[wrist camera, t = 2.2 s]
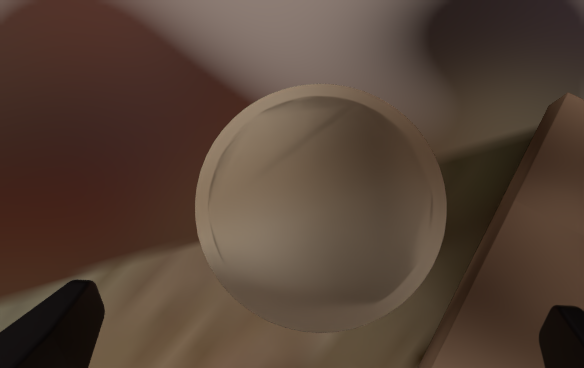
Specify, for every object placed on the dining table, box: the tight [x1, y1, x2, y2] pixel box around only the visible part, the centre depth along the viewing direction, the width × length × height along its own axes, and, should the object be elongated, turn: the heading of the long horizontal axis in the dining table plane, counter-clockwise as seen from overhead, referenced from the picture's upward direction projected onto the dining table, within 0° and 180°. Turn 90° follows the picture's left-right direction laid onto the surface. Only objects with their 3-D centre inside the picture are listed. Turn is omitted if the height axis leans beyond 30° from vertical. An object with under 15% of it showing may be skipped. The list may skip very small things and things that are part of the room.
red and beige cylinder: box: [195, 84, 447, 333], centre depth 14 cm, size 6×6×9 cm
